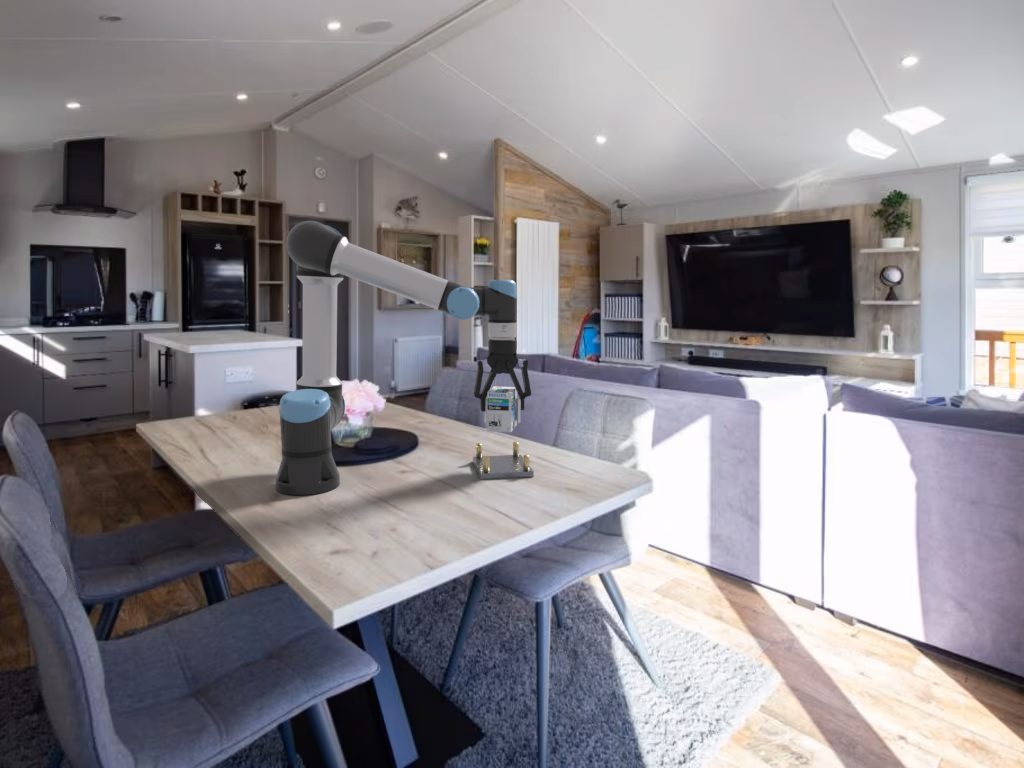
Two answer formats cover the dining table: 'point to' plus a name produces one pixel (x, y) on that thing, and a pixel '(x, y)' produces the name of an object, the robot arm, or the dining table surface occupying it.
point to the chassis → (502, 464)
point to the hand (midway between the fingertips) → (502, 422)
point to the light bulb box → (501, 409)
